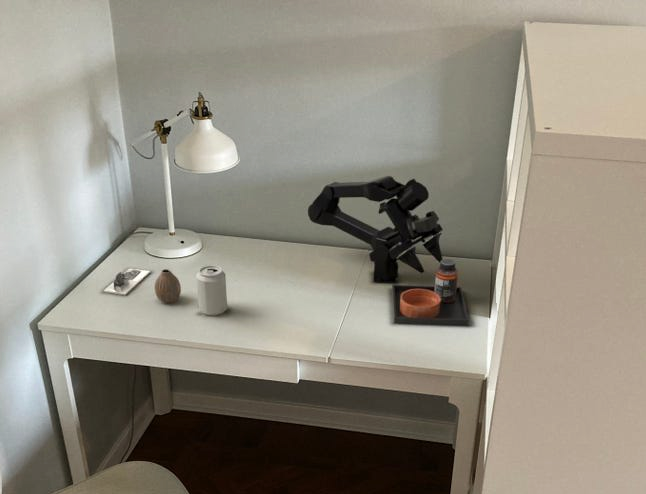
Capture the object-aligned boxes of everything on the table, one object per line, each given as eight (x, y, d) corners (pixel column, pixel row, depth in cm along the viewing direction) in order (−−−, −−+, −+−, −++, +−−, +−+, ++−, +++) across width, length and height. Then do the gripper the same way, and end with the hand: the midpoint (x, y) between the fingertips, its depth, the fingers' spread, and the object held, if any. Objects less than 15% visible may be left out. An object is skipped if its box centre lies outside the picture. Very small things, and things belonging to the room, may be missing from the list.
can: (232, 306, 213) (230, 266, 207) (219, 319, 207) (217, 277, 201) (207, 301, 215) (204, 261, 209) (194, 314, 209) (190, 273, 203)
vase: (186, 297, 217) (184, 268, 213) (172, 308, 212) (169, 278, 207) (165, 292, 220) (162, 263, 215) (151, 302, 214) (147, 273, 210)
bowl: (400, 320, 209) (401, 306, 207) (398, 301, 218) (399, 288, 216) (440, 321, 208) (442, 307, 206) (437, 302, 217) (439, 289, 215)
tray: (393, 323, 207) (394, 317, 206) (392, 290, 223) (392, 284, 222) (468, 325, 207) (468, 320, 206) (460, 292, 223) (461, 287, 222)
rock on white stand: (125, 295, 218) (123, 280, 215) (103, 292, 219) (101, 277, 217) (150, 272, 230) (148, 258, 228) (129, 269, 231) (127, 255, 229)
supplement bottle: (448, 292, 222) (452, 255, 216) (459, 301, 218) (463, 264, 212) (429, 296, 220) (433, 258, 214) (440, 305, 216) (444, 267, 210)
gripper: (400, 213, 205) (433, 265, 205) (440, 195, 217) (470, 243, 217) (375, 234, 213) (405, 283, 213) (414, 214, 225) (443, 261, 226)
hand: (432, 267), depth 217 cm, fingers open, 9 cm apart
